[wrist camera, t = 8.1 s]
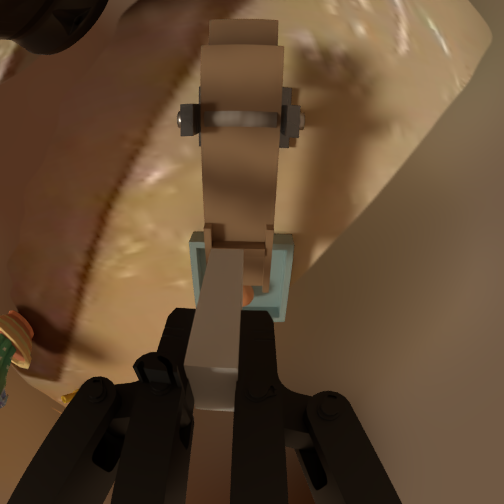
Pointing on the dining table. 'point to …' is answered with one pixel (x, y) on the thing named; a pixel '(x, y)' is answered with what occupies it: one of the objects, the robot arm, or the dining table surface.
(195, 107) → the stand
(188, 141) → the dining table surface
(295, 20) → the dining table surface
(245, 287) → the ball
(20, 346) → the potted cactus
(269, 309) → the dish
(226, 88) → the lever
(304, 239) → the dining table surface
